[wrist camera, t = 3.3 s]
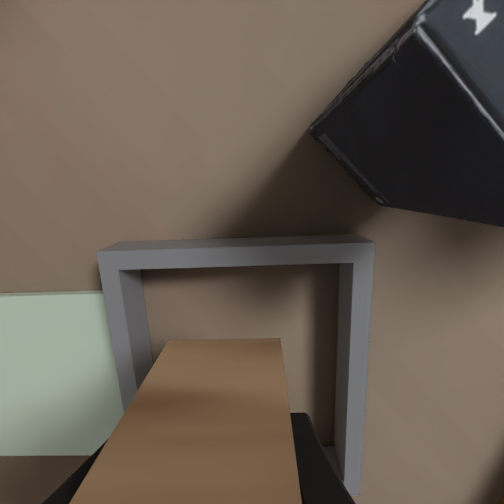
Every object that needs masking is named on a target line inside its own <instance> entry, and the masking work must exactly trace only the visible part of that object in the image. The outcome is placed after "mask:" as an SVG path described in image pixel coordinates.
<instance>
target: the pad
mask: <svg viewBox="0 0 504 504" xmlns="http://www.w3.org/2000/svg"><path fill="white" fill-rule="evenodd" d="M123 414H124V411H123V405H122V399H121V394H120V388H119V382H118V376H117V370H116V364H115V359H114V353H113V347H112V341H111V335H110V330H109V324H108V318H107V312H106V306H105V300H104V295H103V290H95V291H60V292H25V293H0V456H70V455H93V454H94V453H95V452H96V451H97V450H98V449H99V448H100V447H101V445H102V444H103V443H104V442H105V441H106V440H107V439H108V438H109V437H110V436H111V434H112V432H113V431H114V429H115V427H116V426H117V424H118V422H119V421H120V419H121V418H122V416H123Z"/></svg>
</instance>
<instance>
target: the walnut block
mask: <svg viewBox="0 0 504 504" xmlns="http://www.w3.org/2000/svg"><path fill="white" fill-rule="evenodd" d="M69 504H302V501H301V493H300V485H299V478H298V470H297V462H296V455H295V447H294V439H293V432H292V424H291V416H290V409H289V401H288V393H287V386H286V378H285V371H284V363H283V355H282V348H281V340H280V338H265V339H218V340H171V341H168V342H167V343H166V345H165V347H164V348H163V350H162V352H161V353H160V355H159V357H158V358H157V360H156V362H155V363H154V365H153V366H152V368H151V370H150V371H149V373H148V375H147V376H146V378H145V380H144V381H143V383H142V385H141V386H140V388H139V390H138V391H137V393H136V394H135V396H134V398H133V399H132V401H131V403H130V404H129V406H128V408H127V409H126V411H125V413H124V414H123V416H122V418H121V419H120V421H119V422H118V424H117V426H116V427H115V429H114V431H113V432H112V434H111V436H110V437H109V439H108V441H107V442H106V444H105V446H104V447H103V449H102V450H101V452H100V454H99V455H98V457H97V459H96V460H95V462H94V464H93V465H92V467H91V469H90V470H89V472H88V474H87V475H86V477H85V478H84V480H83V482H82V483H81V485H80V487H79V488H78V490H77V492H76V493H75V495H74V497H73V498H72V500H71V502H70V503H69Z"/></svg>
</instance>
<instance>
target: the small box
mask: <svg viewBox="0 0 504 504" xmlns="http://www.w3.org/2000/svg"><path fill="white" fill-rule="evenodd" d="M310 134H311V135H313V136H314V138H315V139H316V140H317V141H318V142H319V143H322V144H323V145H324V146H325V147H326V150H327V151H328V152H330V153H331V154H332V155H333V156H334V157H335V158H336V159H337V160H338V161H339V163H340V164H342V165H343V166H344V168H345V169H346V170H347V171H348V172H349V174H350V175H352V176H353V177H354V178H355V180H356V181H357V182H358V183H359V185H360V187H361V188H362V189H363V190H364V191H365V192H367V194H368V195H370V196H371V197H372V198H373V199H375V200H376V201H377V203H378V204H379V205H381V206H387V207H393V208H399V209H405V210H411V211H417V212H423V213H428V214H435V215H440V216H445V217H452V218H456V219H462V220H467V221H473V222H479V223H484V224H490V225H495V226H500V227H504V0H426V1H425V2H424V3H423V4H422V5H421V7H420V8H419V9H418V10H417V11H416V12H415V13H414V14H413V15H411V17H410V18H409V19H408V20H407V21H406V22H405V23H404V24H403V25H402V27H401V28H400V29H399V30H398V31H397V32H396V33H395V34H394V35H393V36H392V37H391V38H390V40H389V41H388V42H387V43H386V44H385V45H384V46H383V47H382V48H381V49H380V50H379V51H378V52H377V53H376V54H375V55H374V56H373V57H372V58H371V60H369V61H368V62H367V63H366V64H365V65H364V67H363V68H361V70H360V71H359V72H358V74H357V75H356V76H355V77H353V78H352V79H351V80H350V81H349V82H348V83H347V85H346V86H345V88H344V89H343V90H342V91H341V92H340V93H339V94H338V95H337V96H336V98H335V99H334V100H333V101H332V102H331V103H330V104H329V106H328V107H327V108H326V109H325V110H324V111H323V112H322V113H321V114H320V116H319V117H318V118H317V119H316V120H315V121H314V122H313V123H312V124H311V125H310Z"/></svg>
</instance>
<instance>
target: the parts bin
mask: <svg viewBox="0 0 504 504" xmlns="http://www.w3.org/2000/svg"><path fill="white" fill-rule="evenodd" d="M374 252H375V242H373V241H371V240H369V239H367V238H365V237H363V236H361V235H359V234H338V235H310V236H281V237H253V238H224V239H195V240H167V241H138V242H119V243H117V244H114V245H112V246H109V247H107V248H104V249H102V250H99V251H97V252H96V254H97V260H98V265H99V271H100V277H101V283H102V289H103V295H104V300H105V306H106V312H107V318H108V324H109V330H110V335H111V341H112V347H113V353H114V359H115V364H116V370H117V376H118V382H119V388H120V394H121V399H122V405H123V411H124V413H125V411H126V409H127V408H128V406H129V404H130V403H131V401H132V399H133V398H134V396H135V394H136V393H137V391H138V390H139V388H140V386H141V385H142V383H143V381H144V380H145V378H146V376H147V375H148V373H149V371H150V370H151V368H152V366H153V359H152V352H151V345H150V337H149V330H148V323H147V315H146V308H145V301H144V294H143V286H142V279H141V272H140V269H166V268H198V267H231V266H263V265H295V264H327V263H340V267H339V299H338V331H337V363H336V395H335V427H334V446H323V448H324V450H325V452H326V454H327V456H328V458H329V459H330V461H331V463H332V465H333V467H334V468H335V470H336V472H337V474H338V475H339V477H340V479H341V480H342V482H343V484H344V486H345V487H346V489H347V491H348V493H349V494H350V495H360V485H361V469H362V452H363V436H364V419H365V402H366V386H367V369H368V352H369V336H370V319H371V302H372V286H373V269H374Z"/></svg>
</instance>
